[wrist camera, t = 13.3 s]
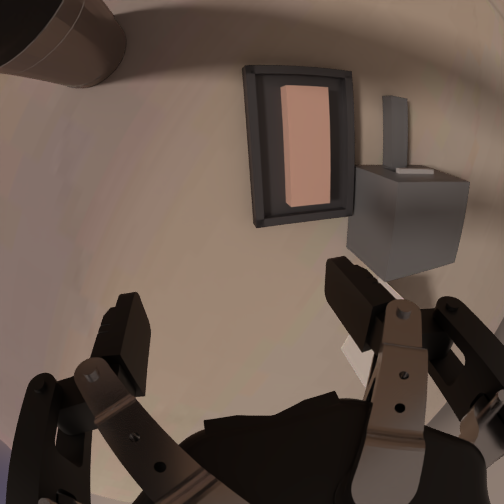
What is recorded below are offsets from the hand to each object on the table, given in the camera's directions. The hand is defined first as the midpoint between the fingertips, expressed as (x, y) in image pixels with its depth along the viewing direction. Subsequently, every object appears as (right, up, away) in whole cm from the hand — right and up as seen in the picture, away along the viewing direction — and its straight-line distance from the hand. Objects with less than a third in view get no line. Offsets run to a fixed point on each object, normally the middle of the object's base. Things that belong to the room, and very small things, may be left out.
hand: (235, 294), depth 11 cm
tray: (+7, +15, +20) cm, 26 cm away
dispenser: (+21, +13, +24) cm, 34 cm away
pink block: (+7, +14, +19) cm, 25 cm away
